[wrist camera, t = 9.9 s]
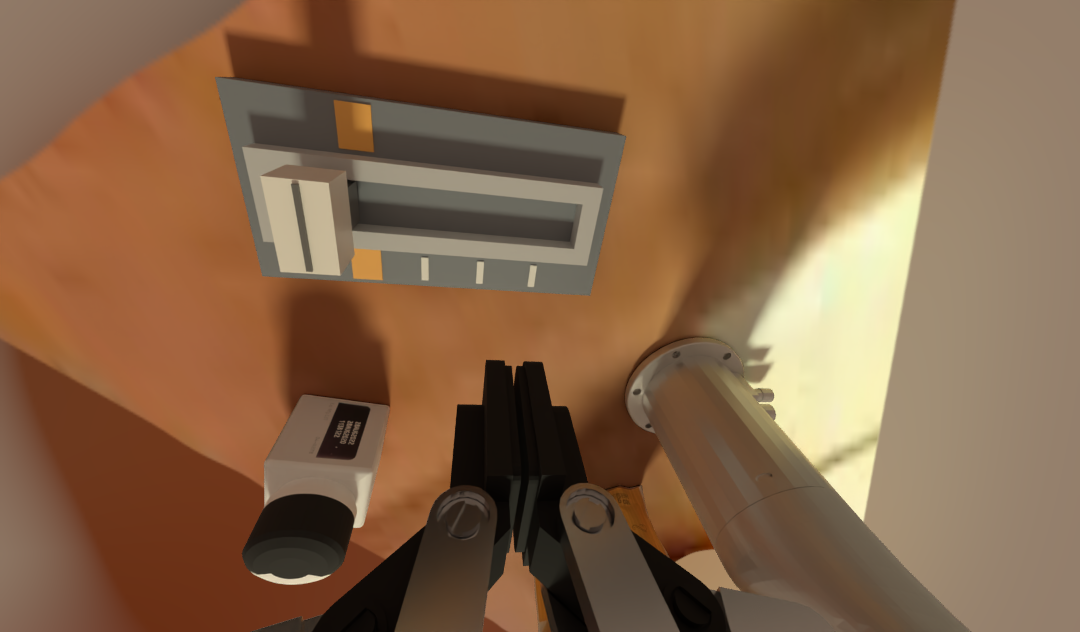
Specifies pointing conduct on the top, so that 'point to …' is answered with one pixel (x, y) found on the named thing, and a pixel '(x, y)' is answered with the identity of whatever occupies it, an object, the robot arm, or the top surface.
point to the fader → (311, 218)
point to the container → (316, 488)
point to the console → (434, 186)
